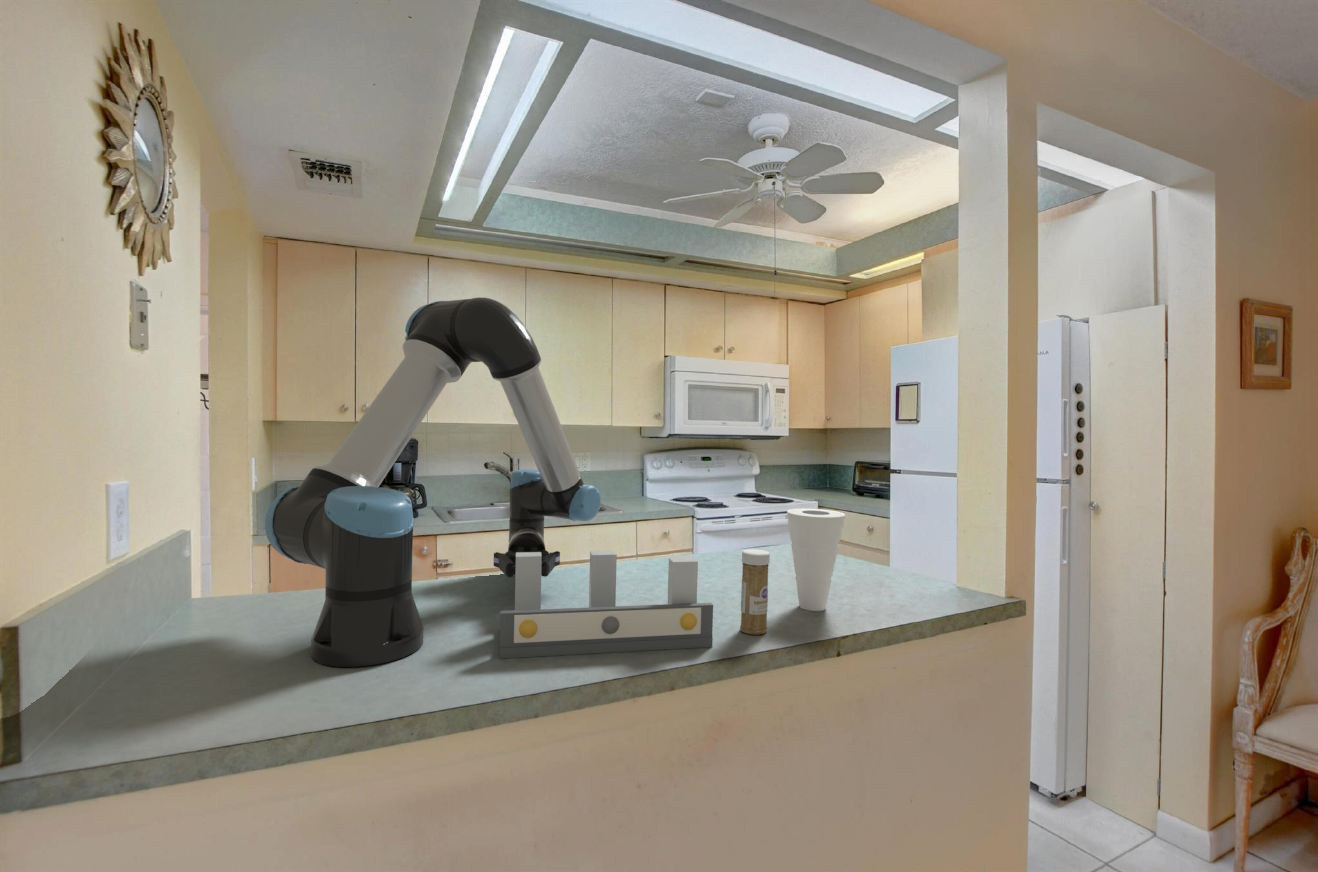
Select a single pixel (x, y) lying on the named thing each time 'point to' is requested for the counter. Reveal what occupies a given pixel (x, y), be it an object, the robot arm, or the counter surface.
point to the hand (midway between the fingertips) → (527, 580)
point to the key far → (682, 580)
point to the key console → (604, 629)
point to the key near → (528, 581)
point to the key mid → (602, 579)
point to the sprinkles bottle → (754, 591)
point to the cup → (814, 553)
